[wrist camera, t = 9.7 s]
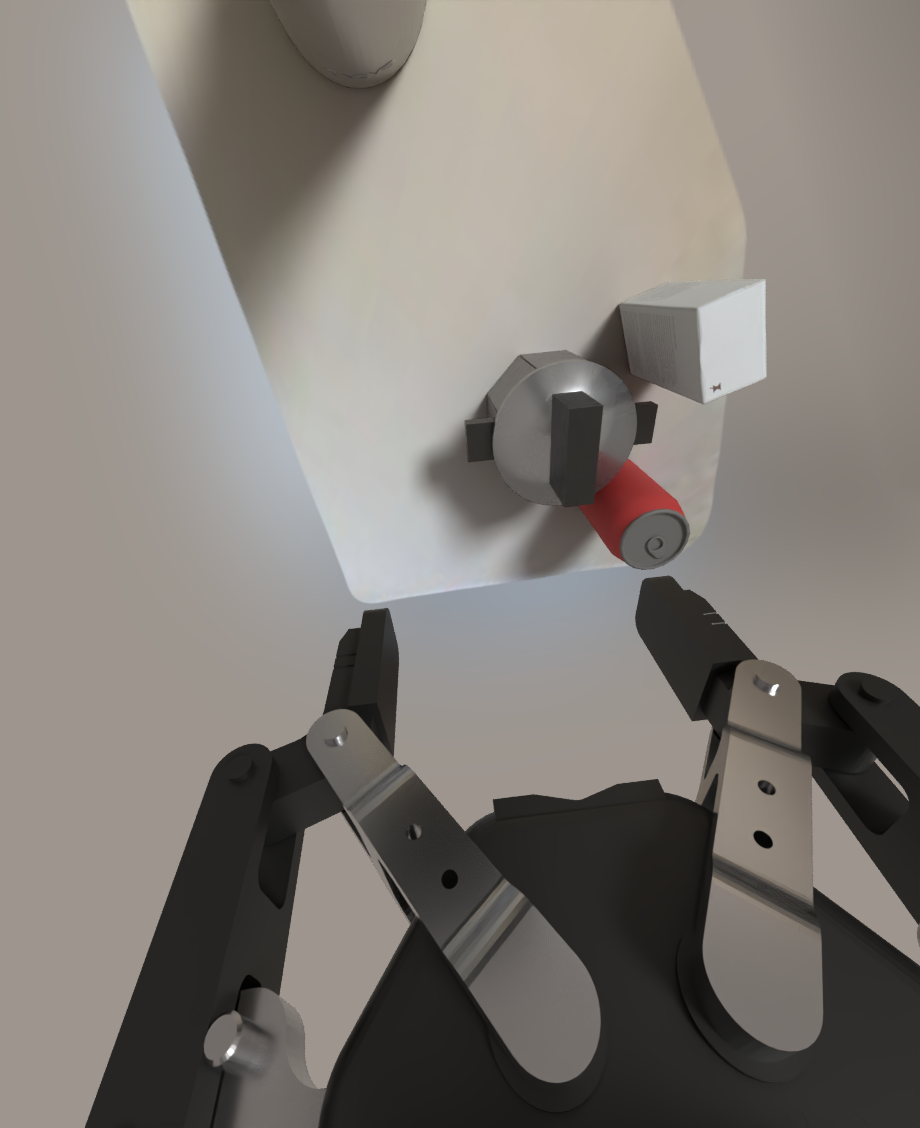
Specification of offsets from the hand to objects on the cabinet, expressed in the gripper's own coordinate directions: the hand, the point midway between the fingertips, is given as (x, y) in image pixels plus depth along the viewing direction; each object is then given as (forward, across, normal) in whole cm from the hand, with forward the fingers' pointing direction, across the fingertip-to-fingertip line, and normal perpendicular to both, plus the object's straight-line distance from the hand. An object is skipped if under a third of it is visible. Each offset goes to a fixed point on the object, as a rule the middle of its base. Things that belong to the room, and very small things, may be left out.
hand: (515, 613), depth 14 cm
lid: (+23, -8, +2) cm, 24 cm away
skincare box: (+30, -17, -4) cm, 35 cm away
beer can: (+30, -14, +10) cm, 34 cm away
